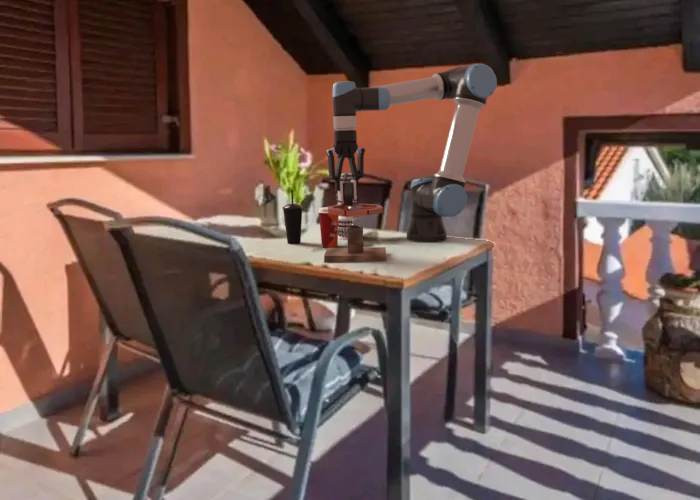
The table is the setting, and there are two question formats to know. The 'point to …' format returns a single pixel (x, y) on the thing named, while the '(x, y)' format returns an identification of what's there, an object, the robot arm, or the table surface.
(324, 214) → the paper cup
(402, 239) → the table surface
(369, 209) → the handwheel
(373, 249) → the brown block
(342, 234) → the decorative candle
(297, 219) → the drinking cup
